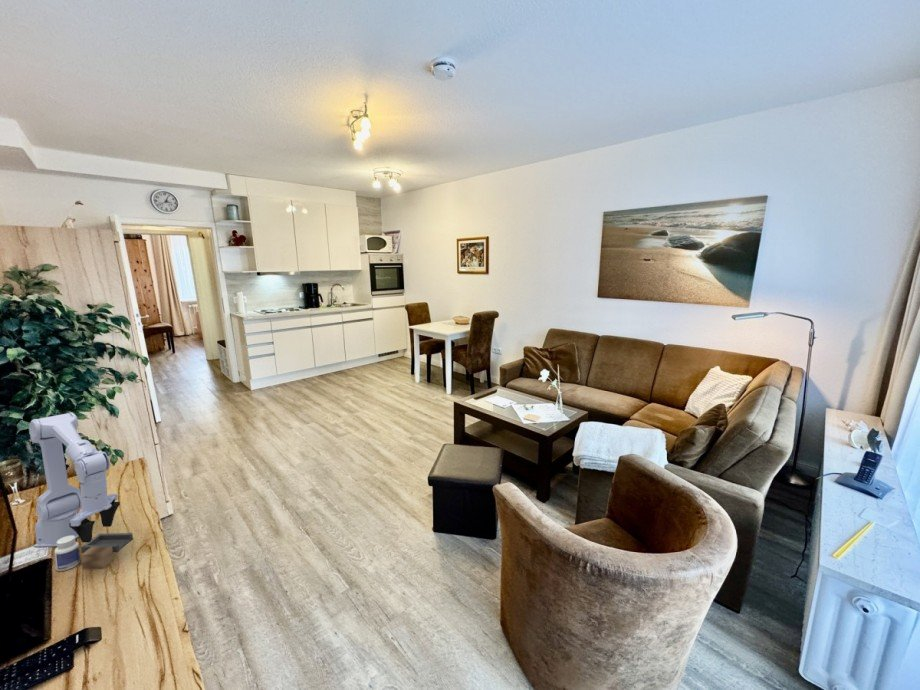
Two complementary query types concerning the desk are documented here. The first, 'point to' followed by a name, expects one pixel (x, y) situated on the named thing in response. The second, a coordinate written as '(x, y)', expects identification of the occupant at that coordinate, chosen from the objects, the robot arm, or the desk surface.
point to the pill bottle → (67, 553)
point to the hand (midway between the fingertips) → (97, 533)
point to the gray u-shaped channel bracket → (109, 541)
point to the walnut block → (97, 557)
